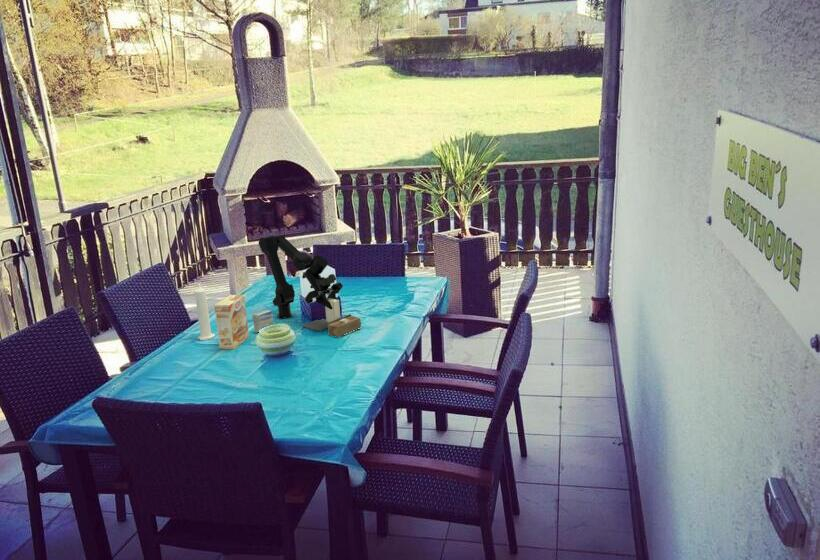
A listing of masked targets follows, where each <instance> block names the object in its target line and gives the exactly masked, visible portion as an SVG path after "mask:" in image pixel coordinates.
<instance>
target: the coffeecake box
mask: <svg viewBox="0 0 820 560" xmlns="http://www.w3.org/2000/svg"><path fill="white" fill-rule="evenodd" d="M214 311H215V312H214V313H215V322H216V328H217V336H218V344H219V349H220V350H236V348H238V347H239V346H240V345H241V344H243V343H244V342H245V341H246V340H248V338H250V334H249V325H248V317H247V308H246V300H245V295H244V294H229V295H228V296H227V297H224V298H223V299H222V300H220V301H219V302H217V303H215V304H214Z"/></svg>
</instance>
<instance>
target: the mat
mask: <svg viewBox="0 0 820 560" xmlns="http://www.w3.org/2000/svg"><path fill="white" fill-rule="evenodd" d="M327 323H328V321H326V319H325V318H322V319H321V320H318V319H315V320H313V321H310V322H307V323H305V324H302V325H301V326H302V327H301V328H304V327H305V328H304V329H307V328H309V329H308V330H311V329H312V330H311V331H314V330H316V331H315V332H318V331H320V332H322V331H321V330H323V331H325V330H327V329H326V328H328V325H327ZM324 329H325V330H324Z"/></svg>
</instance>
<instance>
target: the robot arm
mask: <svg viewBox="0 0 820 560" xmlns="http://www.w3.org/2000/svg"><path fill="white" fill-rule="evenodd" d="M258 246H259V249H260V251H261V252H262V254H264V255H265V256H266V257H267V260H268V264H269V266H270V270H271V273H272V276H273V278H274V282H275V284H276V286H275V290H274V294H275V297H274V298H273V299H272V304H273V306H274V307H277V311H278V313H277V314H276V315H277V318H278V319H279V320H282V319H287V318H293V317H294V316H293V313H292V312H291V311H292V310H291V304H292V303H294V301H295V296H296V294H295V293H296V292H295V290H294V285H293V284H290V283H289V282H287V279H286V276H285V273H284V269H283V266H282V264H281V261H280V257H279V255H278V251H279V249H280V250H281V251H282V252H283V253H284V254H286V255H287V256H288V258H290V259H291V260H292V264H293V266H294V268H296V270H297V271H299V272H301V271H303V272H302V279H306V280H307V281H308V283H309V284H310V286H309V287H310V289H313V290H312V291H311V290H310V291H309V292H308V293H307V294H306V296H305V298H304V300H305V302H306V303H307V304H311V303H313V301H314V299H315V301H314V303H318V304H320V305H322V306H324V307H325V306H326V307H327V308H329V309H332V306H331V304H330V303H329V301H328V300H327V299H328V298H332V299H336V300H337V297H336V294H338V293H339V292H341V290H342V289H343V288H344V285H343V283H342V282H339V281H338V282H336V283H335V281H336V280H337V278H336V275H335V274H334V273H331V274H329V275H328V276H327V277H324V276H321V274H322V273H323V272H324V270H325V269H326V268H327V266H328V264H329V262H328V260H327V259H326V258H324V257H322V256H320V255H319V254H316V255H314V257H313V258H312V257H311V256H310V255H309V254H307V253H304V252H301V251H300V250H298V249H297V248H296V246H294V245H293V244H292V243H291V242H290V241H289V240H288V239H287V238H286V236H285V235H284V234H278V235H273V234H271V235H266V236H263V237H260V238H259V240H258Z"/></svg>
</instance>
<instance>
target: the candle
mask: <svg viewBox="0 0 820 560" xmlns="http://www.w3.org/2000/svg"><path fill="white" fill-rule="evenodd" d="M194 296H195V297H194V298H195V303H196V310H197V317H198V325H199V333H200V335H198V337H197V339H198V340H199V339H200V341H208V340H212V339H214V338H215V333H212V328H211V322H210V321H211V320H210V313H209V308H208V307H209V306H208V305H209V304H208V299H207V292H206V289H205V288H203V287H202V285H201V284H200V282H199V283H197V288H196V289H195V290H194Z"/></svg>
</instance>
